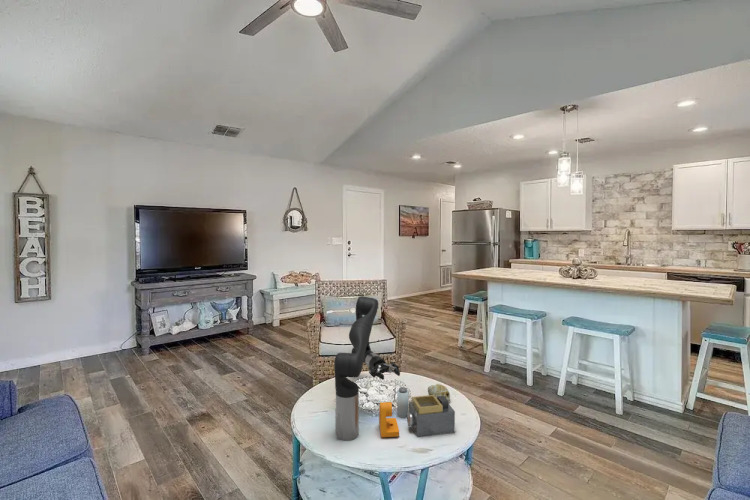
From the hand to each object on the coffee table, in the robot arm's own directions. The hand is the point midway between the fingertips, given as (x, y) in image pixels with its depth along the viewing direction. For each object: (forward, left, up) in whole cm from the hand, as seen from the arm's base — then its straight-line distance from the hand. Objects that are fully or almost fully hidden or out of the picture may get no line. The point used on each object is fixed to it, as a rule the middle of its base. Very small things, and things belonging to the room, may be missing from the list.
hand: (391, 375), depth 169 cm
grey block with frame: (+12, -21, -15) cm, 29 cm away
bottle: (+3, -9, -15) cm, 18 cm away
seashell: (+24, +1, -15) cm, 28 cm away
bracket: (-6, -20, -15) cm, 26 cm away
